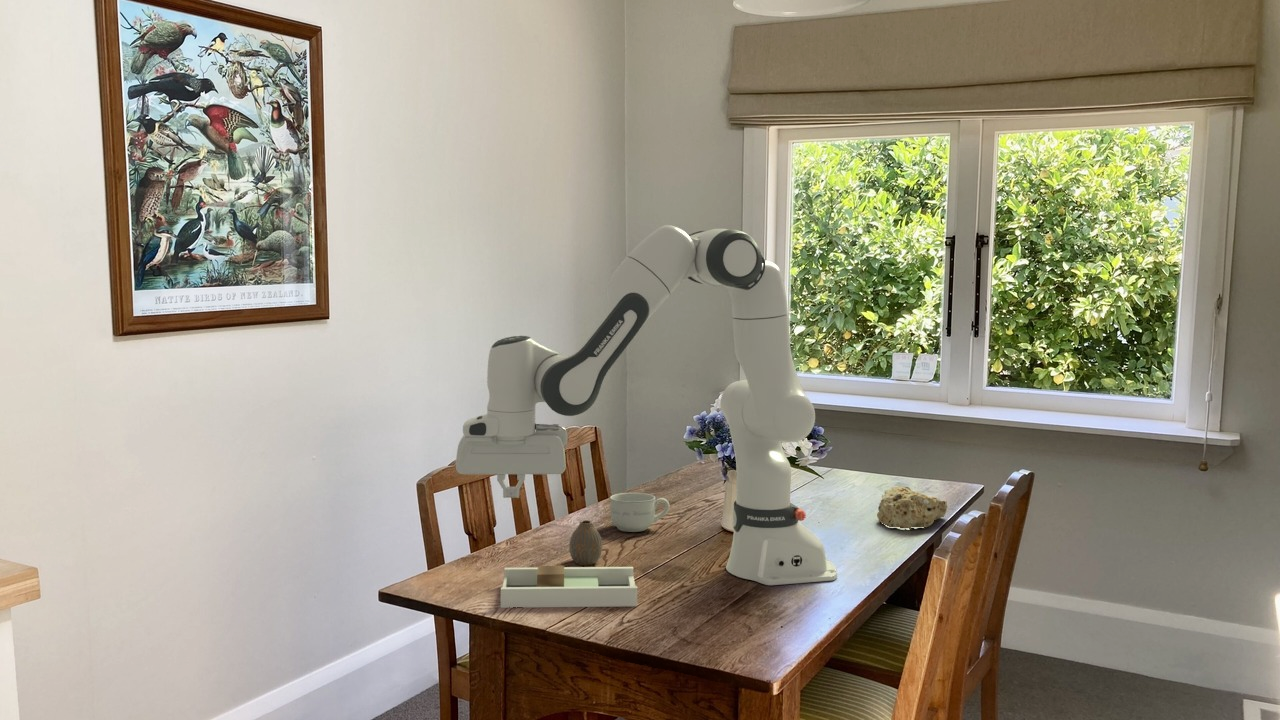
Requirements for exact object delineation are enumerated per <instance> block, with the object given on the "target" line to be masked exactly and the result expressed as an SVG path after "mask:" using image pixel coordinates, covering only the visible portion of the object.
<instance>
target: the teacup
mask: <svg viewBox="0 0 1280 720" xmlns="http://www.w3.org/2000/svg"><path fill="white" fill-rule="evenodd" d="M609 500H610V501H609V502H610V504H609V505H610V506H609V507H610V512H609V513H610V520H611V524H613V526H614V527H617V529H618V530H619V531H621V532H629V533H630V532H631V533H638V532H643V531H646V530H647V529H648V528H649V527H651V526H652V525H653V524H654V523H656V522H657V521H658V520H659V519H661V518H662V517H664V516H666V514H668V512H669V510H670V507H671V506H670V503H669V500H667V499H666V498H664V497H659V498H656V496H655V495H653V494H650V493H644V492H623V493H615V494H613V495H611V496H609ZM661 503H663V504H664V506H665V507H664V509H663V511H662V512H660V513H658V514H656V509H657V508H658V505H659V504H661Z"/></svg>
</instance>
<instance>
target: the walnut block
mask: <svg viewBox="0 0 1280 720" xmlns="http://www.w3.org/2000/svg"><path fill="white" fill-rule="evenodd" d="M564 567H565V565H537V568H538V571H537V587H564Z"/></svg>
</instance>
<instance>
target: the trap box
mask: <svg viewBox="0 0 1280 720" xmlns="http://www.w3.org/2000/svg"><path fill="white" fill-rule="evenodd" d="M537 571H538V567H504V577H503V582H502V587H500V608H501V609H505V608H506V609H508V608H509V607H510V608H511V609H512V608H513V607H516V608H515V609H518V608H517V607H523V608H590V607H592V608H597V607H598V608H601V607H603V608H604V607H606V608H607V607H608V608H609V607H612V608H613V607H614V608H615V607H638V595H639V594H638V590H639V589H638V588H639V587H638V585H636V583H635V582H636V581H635V577H634V566H584V567H583V566H569V567H568V566H567V567H565V566H564V587H537ZM510 608H509V609H510Z"/></svg>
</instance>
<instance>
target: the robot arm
mask: <svg viewBox="0 0 1280 720" xmlns="http://www.w3.org/2000/svg"><path fill="white" fill-rule="evenodd" d="M782 275H783V274H782V272H781V269H780V268H779V266H778V265H777V264H776V263H774V262H773V261H770V260H768V259H766V260H765V258H764V257H763V255H762V252H761V249H760V248H759V245H758V243H757V242H756V240H755V239H753V237H752V236H751V235H749V234H748V233H746V232H744V231H741V230H739V229H732V228H731V229H730V228H729V229H727V228H713V229H710V230H700V231H696V232H692V233H691V234H688V233H687V232H686V231H684V230H683V229H682V228H680V227H677V226H675V225H670V224H665V225H662V226H660V227H658V228H656V229H655V230H653V232H651V233H650V234H648V236H646V237H645V238H644V239H643V240H642V241H640V243H638V244H637V246H635V247H634V248H633V249H632V250H631V251H630V252H629V253H628V255H627V256H626V257H625V258H624V259H623V260H622V261H621V262H620V264H619V265H618V266H617V268H616V269H615V270H614V272H613V274H612V275H611V276H610V279H609V280H608V283H606V298H607V309H606V313H605V315H604V317H603V319H602V321H601V322H600V323H599V324H598V326H597V327H596V329H594V331H593V332H592V333H591V335H589V337H588V338H587V340H585V342H584V343H583V345H582V346H581V347H579V349H578V351H577V352H575V353H574V354H572V355H570V356H569V355H567V354H564V353H563V352H558V351H556V350H553V349H550V348H548V347H547V346H544V345H542V344H540V343H538V342H537V341H535V340H534V339H533V338H532V337H530V336H529V335H515V336H514V335H513V336H509V337H504V338H501V339H498V340H496V341H495V342H494V343H493V344H492V346H491V347H490V350H489V354H488V359H487V360H488V361H487V373H486V374H487V378H486V379H487V380H486V383H487V384H486V385H487V389H488V394H489V397H488V398H489V399H488V402H487V405H486V406H487V407H486V409H487V411H486V412H487V413H484V414H482V415H478V416H475V417H472V418H469V419H467V420H466V421H465V422H464V423H463V425H462V434H463V436H462V437H461V438H460V440H459V442H458V446H457V450H456V459H455V470H456V471H457V473H458V474H460V475H496V477H497V478H496V479H497V480H496V481H497V482H498V484H499V485H500V487H501V488H502V498H503V499H505V498H506V499H508V498H509V499H510V498H512V499H513V498H514V499H515V498H516V499H520V488H521V487H522V485H523V483H524V482H525V481H526V475H562V474H563V473H564V472H565V471H566V467H567V466H566V454H565V452H566V451H565V447H566V446H567V445H568V439H569V438H568V437H569V434H568V430H567V429H566V428H565V427H564V426H561V425H560V424H558V423H552V424H546V423H536V405H537V404H538V403H545V404H547V406H548V407H549V408H550V410H552V411H553V412H555V413H556V414H558V415H561V416H565V417H566V416H567V417H573V416H578V415H581V414H583V413H584V412H587V411H588V410H590V408H591V407H593V405H594V404H595V402H596V400H597V399H598V395H600V394H599V393H600V391H601V386H602V384H603V381H604V379H605V376H606V375H607V373H608V372H609V370H610V369H611V367H612V366H613V365H614V364H615V363H616V361H617V360H618V359H619V357H620V356H621V355H622V353H624V351H625V350H626V348H627V347H628V346H629V344H630V343H631V341H632V340H633V339H634V338H635V336H636V335H637V334H638V332H639V331H640V329H641V328H642V327H643V326H644V325H645V323H646V322H647V321H648V320H649V319H650V317H651V316H652V315H653V314H655V313H656V311H658V309H659V308H660V307H661V306H662V305H663V304H664V303H665V301H667V299H668V298H669V296H670V295H671V294H672V293H673V292H674V291H675V290H676V289H677V287H678V286H679V285H680V283H682V282H683V281H685V280H686V279H688V280H689V281H692V282H694V283H697V284H701V285H702V284H703V285H706V286H712V287H723V286H724V287H725V288H726V289H727V292H728V294H729V296H730V299H731V300H730V301H731V314H732V316H731V317H732V329H733V331H732V333H733V345H734V355H735V358H736V360H737V361H738V363H739V364H740V367H741V368H742V370H743V373H744V376H745V379H741V380H737V381H734V382H731V383H730V384H729V385H728V386H727V387H726V388H725V389H724V390H723V393H722V395H721V398H720V410H721V412H722V415H723V417H724V419H725V420H726V422H727V424H728V427H729V428H728V429H729V432H730V436H731V437H730V438H731V441H732V446H733V447H732V448H733V451H734V457H735V458H734V459H735V462H736V463H735V465H736V466H735V467H736V481H735V482H736V483H735V485H736V488H735V489H736V491H735V501H734V502H733V508H732V528H733V536H732V543H731V547H730V553H729V557H728V560H727V563H726V566H725V568H726V571H727V572H728V573H729V574H731V575H733V576H736V577H737V578H740V579H745V580H751V581H754V582H757V583H760V584H763V585H765V586H779V585H790V584H792V585H793V584H804V583H816V582H829V581H835V580H837V577H838V571H837V568H836V566H835V564H834V563H833V562H832V561H830V560H829V559H827V554H826V550H825V547H824V544H823V542H822V540H821V539H820V538H819V536H817V535H816V534H815V533H813V532H812V531H811V530H810V529H808V528H807V527H806V526H804V524H802V523H801V522H802V521H804V520H805V519H806V517H807V514H806V512H805V511H804V510H803V509H801V508H799V507H798V506H797V505H795V504H793V502H791V494H792V493H791V489H792V488H791V487H792V467H791V463H790V461H789V459H788V458H787V457H786V453H785V451H784V448H783V443H785V444H787V443H789V444H790V443H796V442H797V443H798V442H801V441H802V440H804V439H805V438H807V437H808V436H809V435H810V433H811V432H812V430H813V428H814V427H815V422H816V412H815V411H816V410H815V406H814V405H813V403H812V402H811V400H810V399H809V398H808V397H807V395H806V393H805V392H804V389H803V387H802V384H801V382H800V379H799V376H798V375H799V374H798V373H797V369H796V367H795V364H794V360H793V359H794V358H793V356H792V350H791V340H790V339H791V337H790V327H789V326H790V325H789V312H788V301H787V295H786V289H785V284H784V280H783V276H782ZM506 475H517V477H516V479H517V481H518V482H517V484H516V485H515V486H508V485H507V484H506V482H505V479H506ZM799 521H801V522H799Z"/></svg>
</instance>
